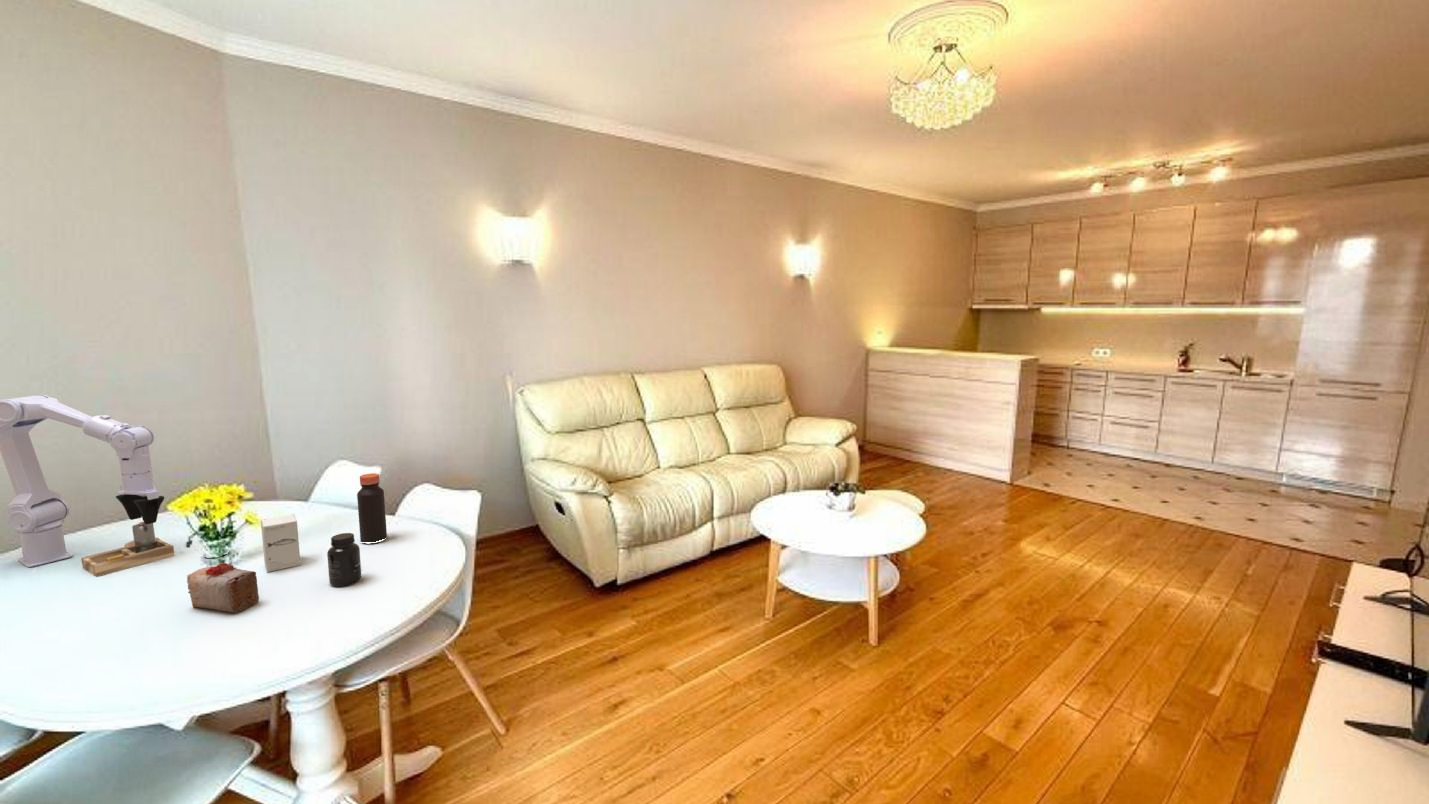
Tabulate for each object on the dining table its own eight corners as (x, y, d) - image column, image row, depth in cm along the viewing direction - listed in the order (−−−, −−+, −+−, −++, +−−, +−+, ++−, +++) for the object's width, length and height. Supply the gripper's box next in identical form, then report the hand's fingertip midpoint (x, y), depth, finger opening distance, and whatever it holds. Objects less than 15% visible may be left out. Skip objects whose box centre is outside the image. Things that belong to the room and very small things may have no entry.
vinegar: (378, 545, 165) (373, 479, 162) (355, 544, 165) (350, 478, 162) (391, 536, 172) (387, 472, 169) (369, 535, 172) (365, 472, 169)
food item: (183, 609, 128) (178, 568, 126) (220, 593, 136) (215, 554, 134) (231, 617, 125) (226, 575, 124) (266, 600, 133) (262, 560, 131)
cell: (132, 554, 153) (128, 523, 152) (152, 548, 156) (148, 519, 155) (140, 556, 151) (136, 526, 150) (159, 551, 155) (156, 521, 154)
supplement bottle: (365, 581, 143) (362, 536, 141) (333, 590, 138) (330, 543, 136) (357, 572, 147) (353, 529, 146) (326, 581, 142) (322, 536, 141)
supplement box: (266, 573, 146) (261, 526, 144) (264, 563, 152) (260, 518, 150) (301, 565, 151) (297, 520, 149) (298, 556, 156) (294, 512, 155)
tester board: (82, 567, 147) (80, 554, 146) (159, 548, 160) (157, 535, 159) (96, 576, 142) (94, 563, 142) (174, 555, 155) (173, 543, 155)
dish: (121, 550, 158) (120, 543, 157) (154, 542, 164) (153, 535, 164) (130, 555, 154) (129, 548, 154) (164, 547, 161) (163, 540, 160)
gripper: (102, 472, 150) (109, 521, 152) (130, 479, 144) (137, 530, 146) (137, 466, 156) (143, 513, 158) (166, 472, 151) (172, 521, 153)
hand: (143, 520), depth 153 cm, fingers open, 7 cm apart
